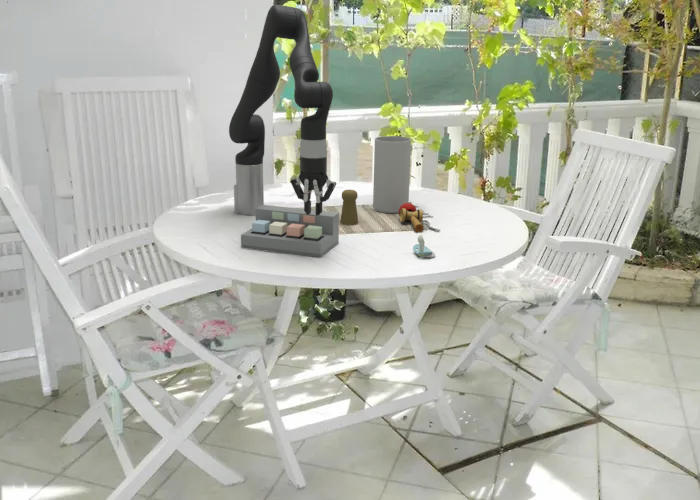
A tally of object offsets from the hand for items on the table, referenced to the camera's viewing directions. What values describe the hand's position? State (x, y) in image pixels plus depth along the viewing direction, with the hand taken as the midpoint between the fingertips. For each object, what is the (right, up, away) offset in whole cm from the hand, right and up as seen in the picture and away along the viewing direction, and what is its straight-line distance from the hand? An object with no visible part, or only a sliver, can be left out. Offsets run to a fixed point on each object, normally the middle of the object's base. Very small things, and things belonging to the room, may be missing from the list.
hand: (313, 214), depth 217 cm
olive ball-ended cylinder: (+10, -1, +33) cm, 35 cm away
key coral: (-5, -7, +4) cm, 10 cm away
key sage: (0, -7, +2) cm, 8 cm away
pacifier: (+32, -12, +2) cm, 34 cm away
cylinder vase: (+25, +4, +51) cm, 57 cm away
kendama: (+31, -2, +32) cm, 45 cm away
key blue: (-16, -6, +7) cm, 18 cm away
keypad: (-7, -9, +8) cm, 14 cm away
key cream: (-10, -6, +6) cm, 14 cm away
